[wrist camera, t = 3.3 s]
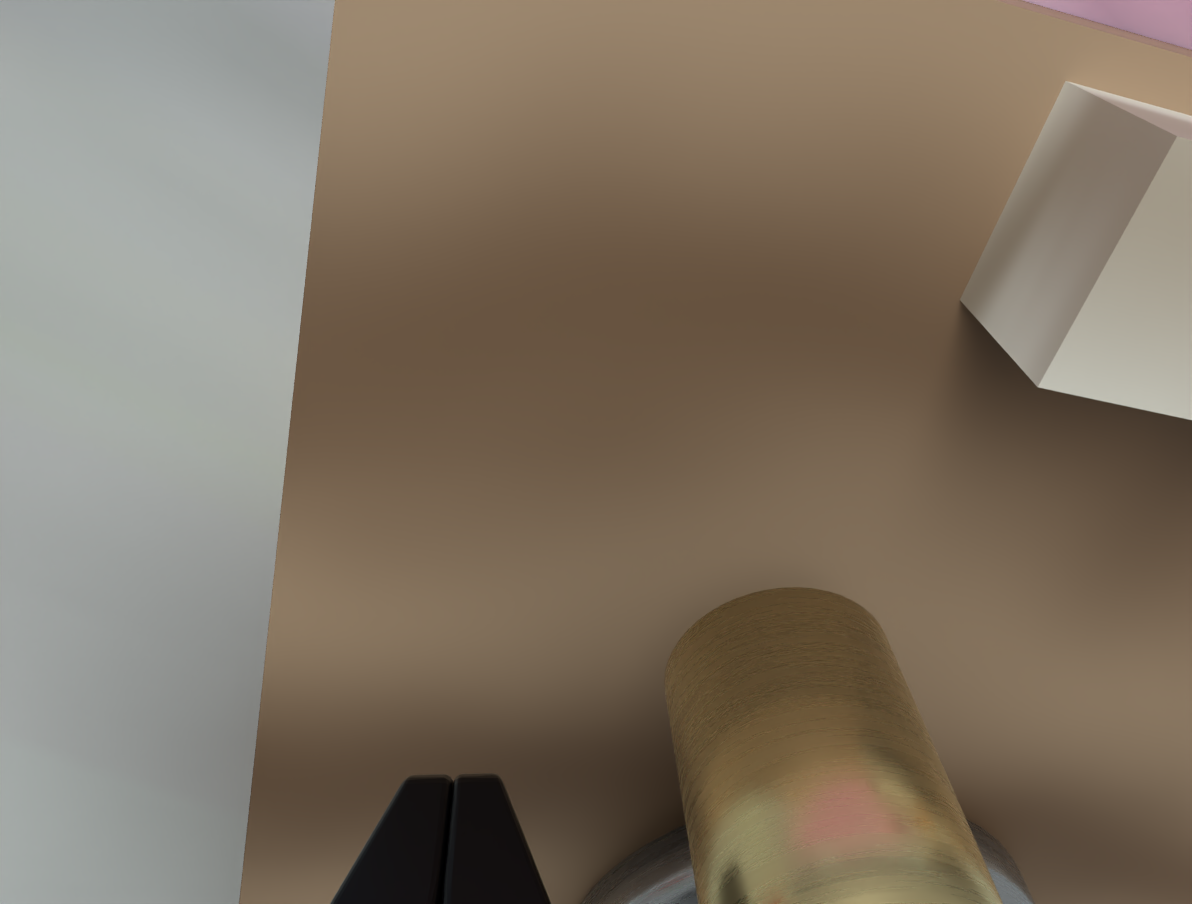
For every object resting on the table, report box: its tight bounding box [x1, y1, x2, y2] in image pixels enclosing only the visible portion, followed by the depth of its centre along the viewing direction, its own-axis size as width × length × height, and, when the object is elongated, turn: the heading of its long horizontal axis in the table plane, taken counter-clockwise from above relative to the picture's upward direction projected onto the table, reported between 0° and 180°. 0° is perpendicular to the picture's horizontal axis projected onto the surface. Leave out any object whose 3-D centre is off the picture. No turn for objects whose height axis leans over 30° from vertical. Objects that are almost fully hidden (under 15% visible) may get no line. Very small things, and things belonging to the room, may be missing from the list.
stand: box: [239, 0, 1192, 904], centre depth 16 cm, size 24×20×4 cm
